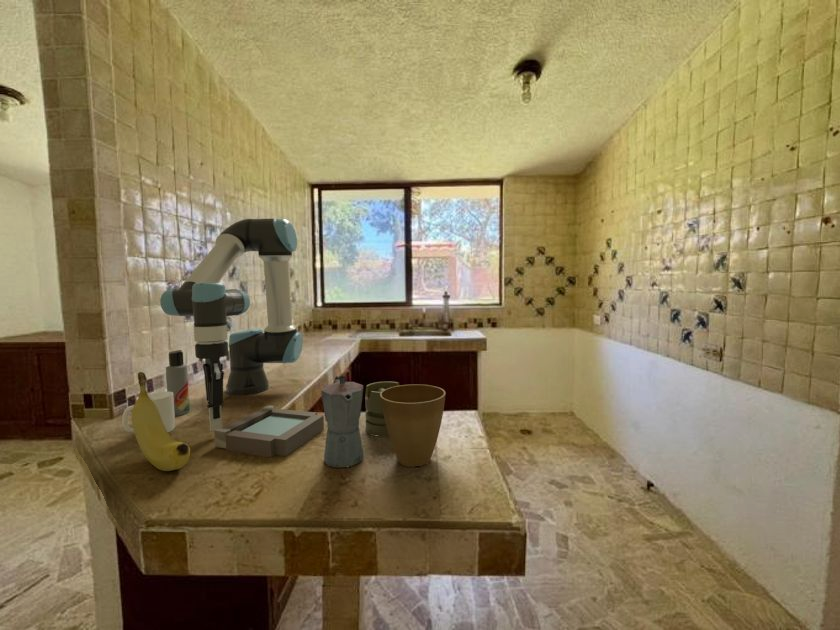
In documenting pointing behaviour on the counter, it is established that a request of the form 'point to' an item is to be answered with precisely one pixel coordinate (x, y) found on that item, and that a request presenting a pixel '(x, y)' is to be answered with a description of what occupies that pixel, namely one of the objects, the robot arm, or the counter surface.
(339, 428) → the moka pot
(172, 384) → the lotion bottle
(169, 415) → the cup
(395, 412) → the plant pot
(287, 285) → the robot arm
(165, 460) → the banana
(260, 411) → the folding leg
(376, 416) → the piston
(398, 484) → the counter surface
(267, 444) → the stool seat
